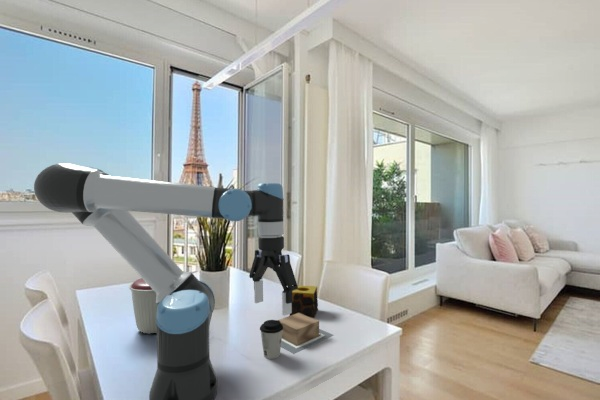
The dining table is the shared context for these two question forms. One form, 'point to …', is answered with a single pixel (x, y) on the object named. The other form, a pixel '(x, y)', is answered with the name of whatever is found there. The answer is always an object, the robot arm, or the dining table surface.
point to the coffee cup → (271, 338)
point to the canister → (144, 306)
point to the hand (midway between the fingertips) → (272, 307)
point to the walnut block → (299, 328)
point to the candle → (305, 301)
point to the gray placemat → (295, 349)
